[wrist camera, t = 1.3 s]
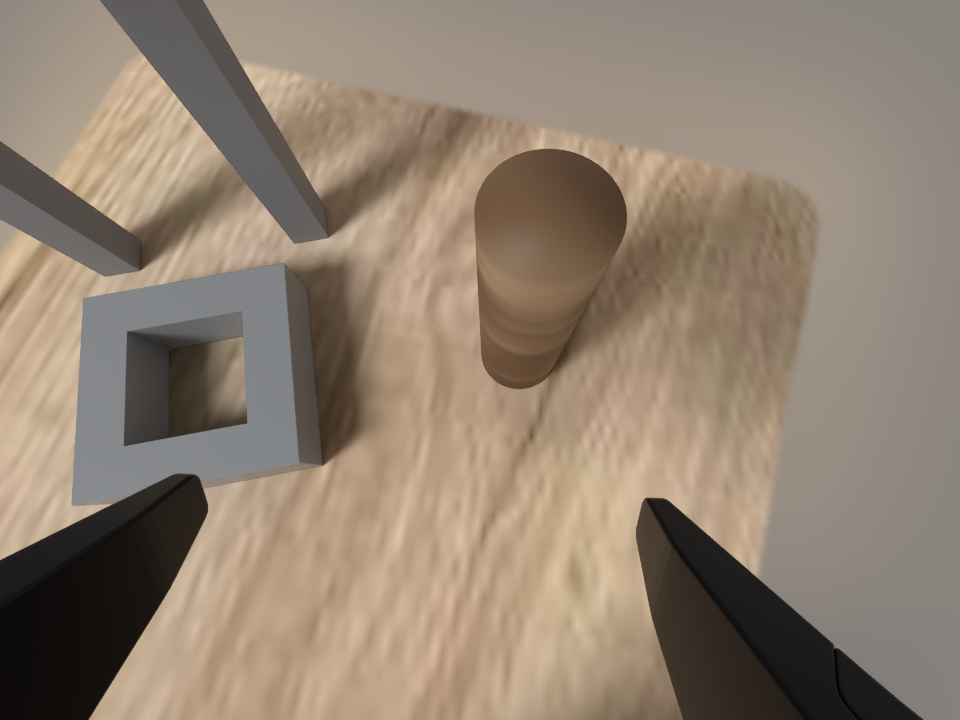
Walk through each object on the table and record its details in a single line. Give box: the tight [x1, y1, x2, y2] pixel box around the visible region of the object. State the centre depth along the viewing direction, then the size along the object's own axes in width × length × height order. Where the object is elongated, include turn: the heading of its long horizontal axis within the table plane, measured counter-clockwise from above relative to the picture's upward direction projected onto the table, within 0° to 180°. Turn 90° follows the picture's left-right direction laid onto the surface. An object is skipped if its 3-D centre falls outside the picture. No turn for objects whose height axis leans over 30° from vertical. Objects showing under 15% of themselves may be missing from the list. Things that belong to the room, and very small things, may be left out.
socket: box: [72, 263, 323, 506], centre depth 23 cm, size 10×10×3 cm
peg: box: [474, 149, 627, 389], centre depth 18 cm, size 4×4×13 cm
